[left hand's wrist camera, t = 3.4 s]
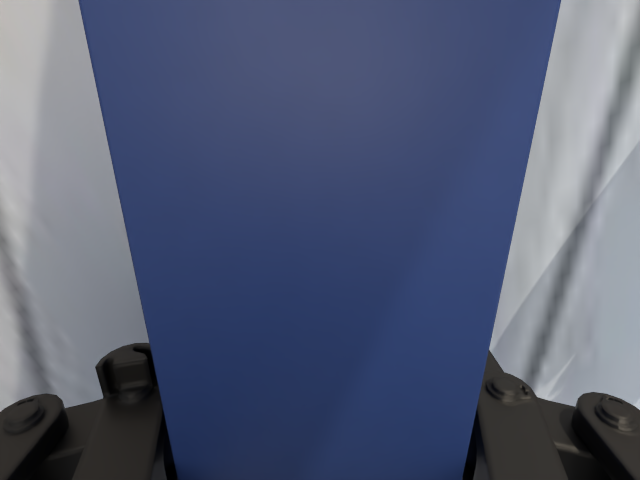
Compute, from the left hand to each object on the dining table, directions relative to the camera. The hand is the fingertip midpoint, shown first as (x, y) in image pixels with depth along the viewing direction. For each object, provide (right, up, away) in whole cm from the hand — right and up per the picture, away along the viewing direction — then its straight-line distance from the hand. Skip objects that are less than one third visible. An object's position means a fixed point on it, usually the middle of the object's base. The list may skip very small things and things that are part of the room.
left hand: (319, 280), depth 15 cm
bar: (0, +9, -3) cm, 10 cm away
